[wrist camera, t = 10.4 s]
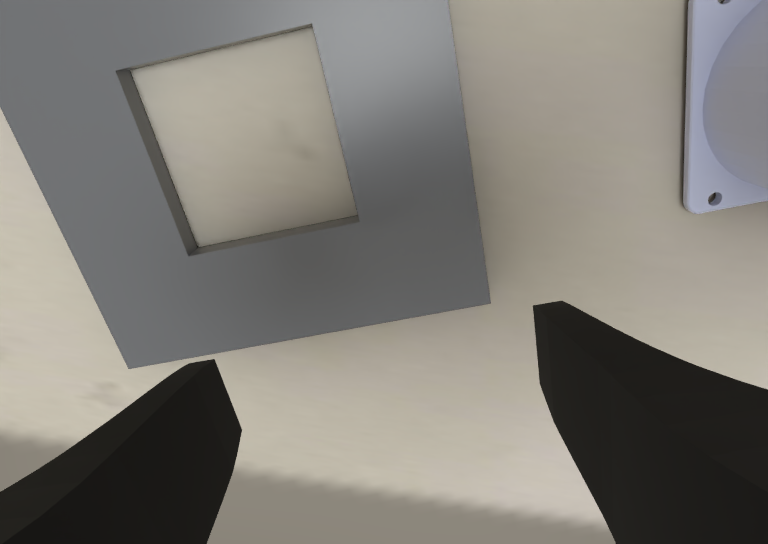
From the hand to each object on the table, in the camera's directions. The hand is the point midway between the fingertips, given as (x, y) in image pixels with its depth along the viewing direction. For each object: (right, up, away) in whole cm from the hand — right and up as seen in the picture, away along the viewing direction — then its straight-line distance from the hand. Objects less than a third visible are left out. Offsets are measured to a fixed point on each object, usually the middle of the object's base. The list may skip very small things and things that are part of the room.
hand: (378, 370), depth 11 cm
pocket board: (-5, +7, +8) cm, 12 cm away
